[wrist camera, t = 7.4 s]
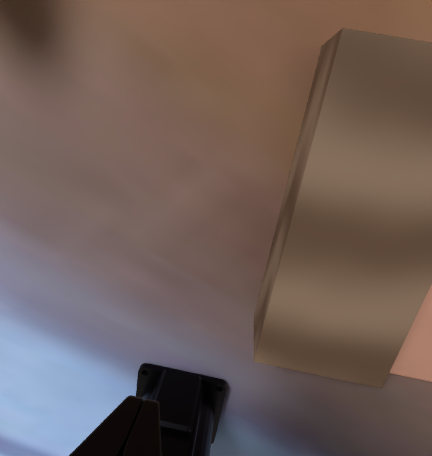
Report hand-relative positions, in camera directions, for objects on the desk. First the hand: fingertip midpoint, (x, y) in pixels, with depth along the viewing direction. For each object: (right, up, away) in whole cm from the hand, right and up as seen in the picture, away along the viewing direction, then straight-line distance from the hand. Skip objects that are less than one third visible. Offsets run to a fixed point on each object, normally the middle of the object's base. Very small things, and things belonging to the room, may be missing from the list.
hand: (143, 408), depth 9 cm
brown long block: (+9, +6, +10) cm, 14 cm away
